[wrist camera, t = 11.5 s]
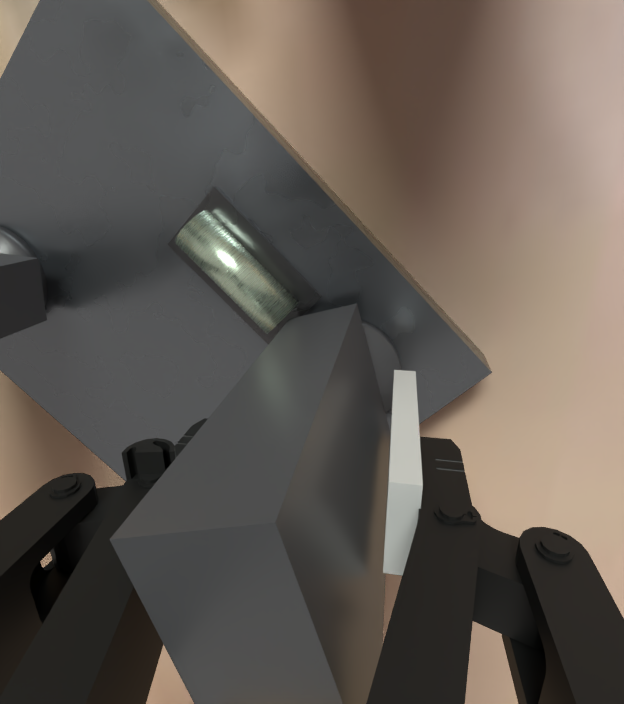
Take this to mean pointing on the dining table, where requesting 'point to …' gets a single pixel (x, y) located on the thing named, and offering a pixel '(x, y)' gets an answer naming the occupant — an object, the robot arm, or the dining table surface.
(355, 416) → the knob
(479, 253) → the dining table surface
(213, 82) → the levelling plate
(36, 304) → the yellow-tipped grey bar
